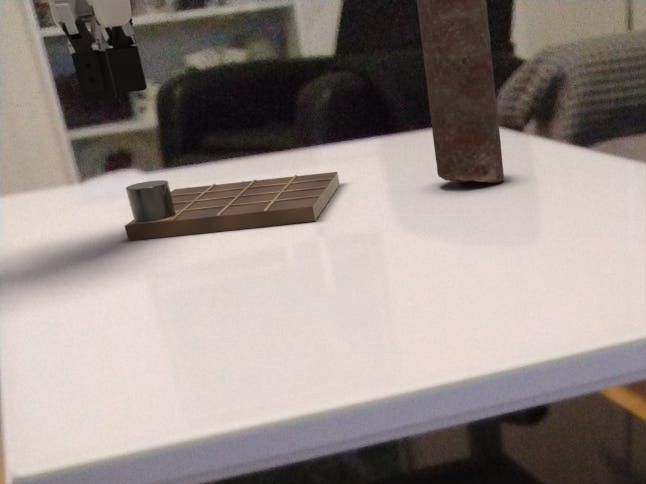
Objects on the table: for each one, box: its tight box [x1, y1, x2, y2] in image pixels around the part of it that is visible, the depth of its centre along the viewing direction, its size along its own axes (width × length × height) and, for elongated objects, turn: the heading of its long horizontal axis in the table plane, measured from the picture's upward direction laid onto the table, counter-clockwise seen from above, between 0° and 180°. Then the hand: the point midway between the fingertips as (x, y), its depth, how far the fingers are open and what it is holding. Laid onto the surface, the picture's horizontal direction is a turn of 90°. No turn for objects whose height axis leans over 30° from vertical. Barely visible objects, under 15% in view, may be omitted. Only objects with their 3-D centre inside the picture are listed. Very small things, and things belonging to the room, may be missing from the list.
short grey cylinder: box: [125, 180, 176, 222], centre depth 108 cm, size 4×4×3 cm
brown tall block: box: [416, 0, 505, 185], centre depth 109 cm, size 8×7×20 cm
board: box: [124, 171, 340, 242], centre depth 114 cm, size 20×20×2 cm
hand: (116, 95), depth 101 cm, fingers open, 9 cm apart
